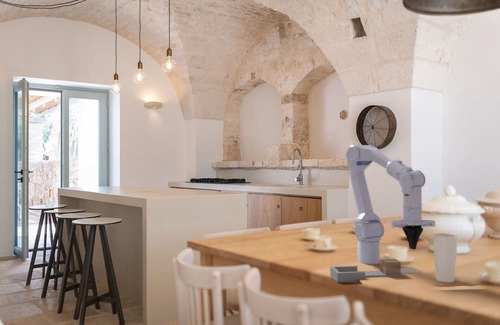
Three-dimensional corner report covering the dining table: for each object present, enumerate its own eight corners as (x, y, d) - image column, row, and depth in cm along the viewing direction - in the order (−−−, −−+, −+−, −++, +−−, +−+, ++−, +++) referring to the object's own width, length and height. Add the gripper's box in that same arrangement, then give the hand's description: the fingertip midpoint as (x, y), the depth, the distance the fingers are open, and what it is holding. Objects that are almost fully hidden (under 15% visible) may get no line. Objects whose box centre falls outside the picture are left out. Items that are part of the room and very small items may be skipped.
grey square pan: (330, 275, 158) (330, 266, 158) (394, 273, 160) (394, 264, 160) (337, 282, 149) (337, 273, 149) (405, 280, 151) (404, 270, 151)
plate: (393, 270, 164) (393, 267, 164) (412, 270, 164) (412, 267, 164) (401, 275, 157) (401, 272, 157) (421, 275, 157) (421, 272, 157)
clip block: (379, 270, 158) (379, 258, 158) (394, 270, 158) (394, 258, 158) (385, 274, 153) (385, 262, 153) (400, 274, 153) (400, 261, 153)
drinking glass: (450, 280, 151) (450, 233, 151) (461, 285, 144) (460, 236, 144) (429, 280, 151) (429, 233, 151) (439, 286, 144) (438, 237, 144)
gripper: (395, 209, 151) (395, 251, 151) (439, 208, 152) (439, 250, 152) (387, 207, 158) (387, 247, 158) (429, 206, 159) (429, 246, 160)
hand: (412, 248), depth 156 cm, fingers closed
